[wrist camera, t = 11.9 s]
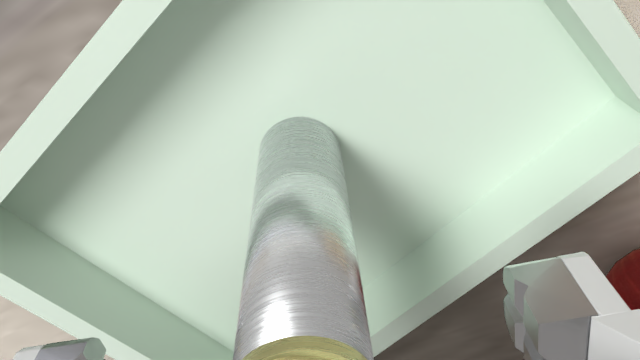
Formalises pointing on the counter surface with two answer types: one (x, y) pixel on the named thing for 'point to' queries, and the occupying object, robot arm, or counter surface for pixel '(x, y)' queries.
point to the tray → (355, 142)
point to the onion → (627, 279)
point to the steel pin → (301, 253)
